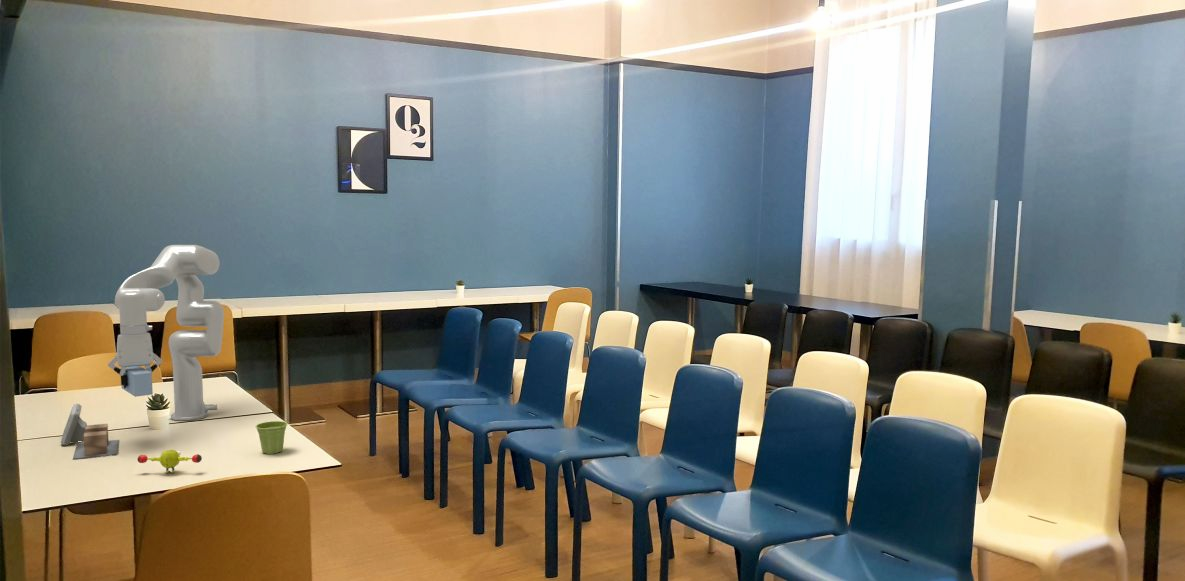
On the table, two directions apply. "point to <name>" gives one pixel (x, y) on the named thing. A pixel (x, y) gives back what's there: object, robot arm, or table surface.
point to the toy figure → (169, 459)
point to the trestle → (96, 443)
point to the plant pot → (271, 436)
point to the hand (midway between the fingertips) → (136, 385)
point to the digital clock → (74, 427)
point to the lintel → (138, 381)
